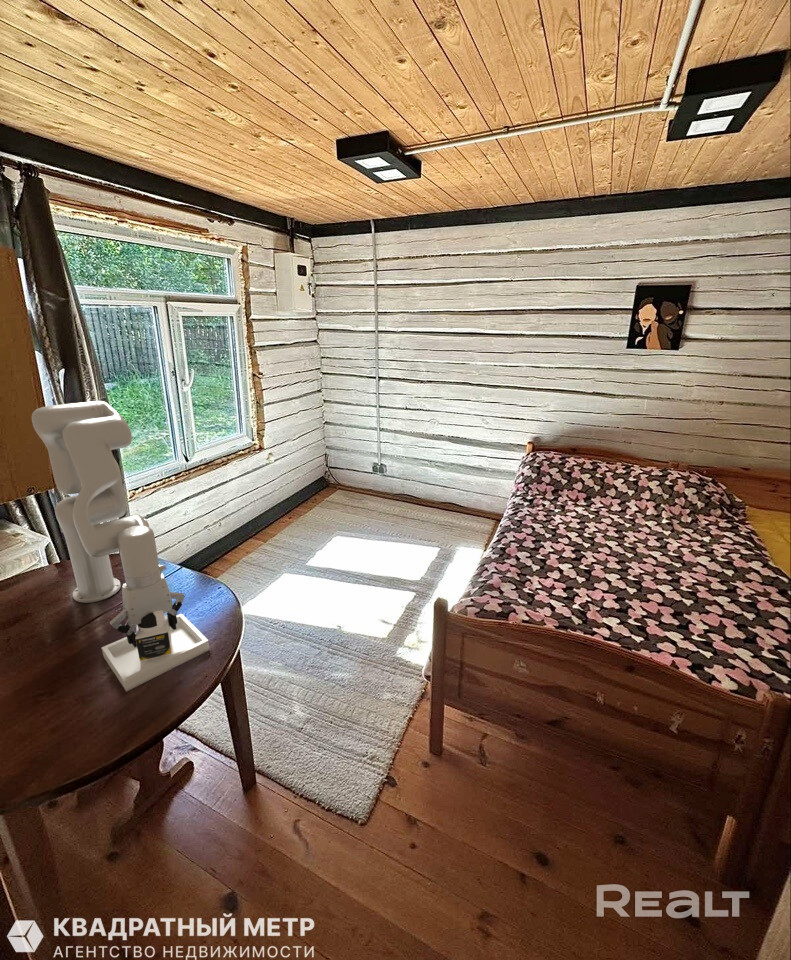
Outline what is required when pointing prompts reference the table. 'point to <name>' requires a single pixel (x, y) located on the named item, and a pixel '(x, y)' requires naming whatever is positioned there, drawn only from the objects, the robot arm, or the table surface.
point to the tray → (137, 672)
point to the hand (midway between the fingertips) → (153, 635)
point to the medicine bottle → (153, 636)
